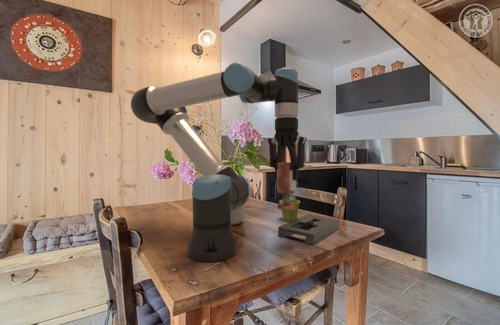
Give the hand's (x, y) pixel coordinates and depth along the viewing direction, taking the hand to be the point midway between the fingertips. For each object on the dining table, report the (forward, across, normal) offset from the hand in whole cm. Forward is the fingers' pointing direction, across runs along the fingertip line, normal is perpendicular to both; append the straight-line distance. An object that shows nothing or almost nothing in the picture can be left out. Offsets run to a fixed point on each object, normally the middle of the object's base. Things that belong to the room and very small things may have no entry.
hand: (286, 189), depth 80 cm
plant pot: (+19, +15, -28) cm, 37 cm away
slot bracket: (+19, 0, -18) cm, 26 cm away
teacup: (+19, +33, -9) cm, 39 cm away
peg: (+6, 0, 0) cm, 6 cm away
